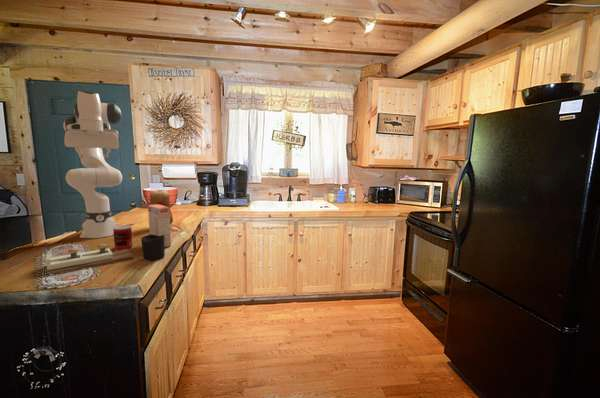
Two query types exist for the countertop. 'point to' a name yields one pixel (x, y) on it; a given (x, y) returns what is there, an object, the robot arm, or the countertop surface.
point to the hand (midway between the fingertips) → (94, 157)
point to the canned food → (122, 237)
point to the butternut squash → (161, 200)
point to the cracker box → (160, 222)
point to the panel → (77, 259)
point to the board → (117, 257)
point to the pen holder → (153, 247)
